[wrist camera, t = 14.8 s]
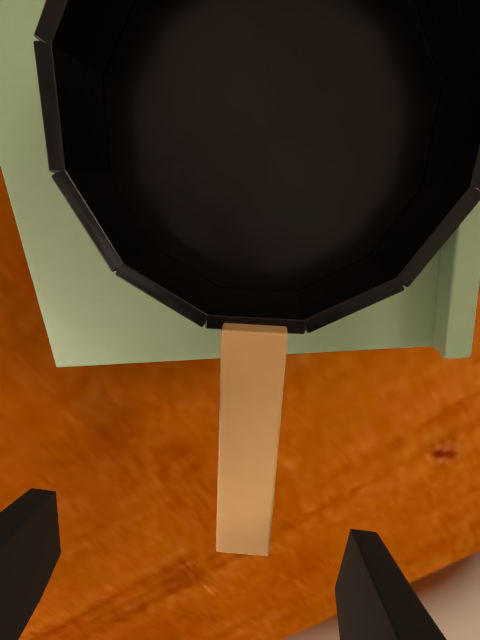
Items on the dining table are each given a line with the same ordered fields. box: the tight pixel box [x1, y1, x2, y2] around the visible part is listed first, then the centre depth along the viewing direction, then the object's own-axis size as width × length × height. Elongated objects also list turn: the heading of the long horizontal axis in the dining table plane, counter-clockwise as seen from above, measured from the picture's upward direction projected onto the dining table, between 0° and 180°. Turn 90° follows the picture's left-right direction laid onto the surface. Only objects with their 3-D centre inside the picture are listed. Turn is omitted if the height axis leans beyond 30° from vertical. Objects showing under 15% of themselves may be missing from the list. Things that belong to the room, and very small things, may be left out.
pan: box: [33, 0, 480, 556], centre depth 10 cm, size 17×10×4 cm, turn 178°
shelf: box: [0, 0, 480, 367], centre depth 13 cm, size 14×13×6 cm
